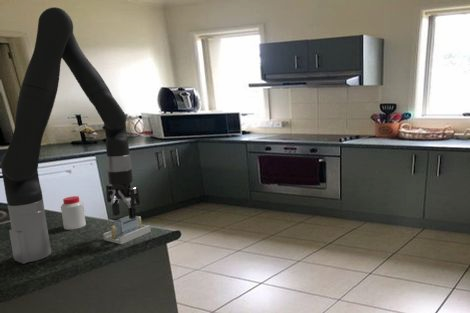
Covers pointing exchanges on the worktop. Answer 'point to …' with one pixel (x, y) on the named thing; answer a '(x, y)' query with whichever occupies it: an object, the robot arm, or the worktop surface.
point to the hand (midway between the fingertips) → (124, 216)
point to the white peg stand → (127, 237)
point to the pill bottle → (73, 213)
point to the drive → (126, 225)
